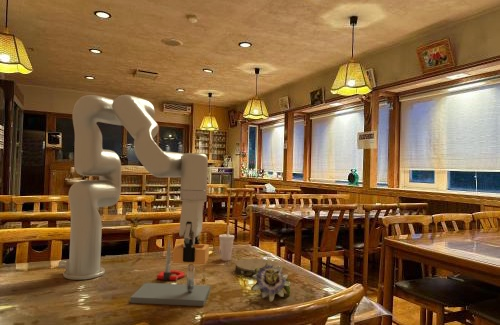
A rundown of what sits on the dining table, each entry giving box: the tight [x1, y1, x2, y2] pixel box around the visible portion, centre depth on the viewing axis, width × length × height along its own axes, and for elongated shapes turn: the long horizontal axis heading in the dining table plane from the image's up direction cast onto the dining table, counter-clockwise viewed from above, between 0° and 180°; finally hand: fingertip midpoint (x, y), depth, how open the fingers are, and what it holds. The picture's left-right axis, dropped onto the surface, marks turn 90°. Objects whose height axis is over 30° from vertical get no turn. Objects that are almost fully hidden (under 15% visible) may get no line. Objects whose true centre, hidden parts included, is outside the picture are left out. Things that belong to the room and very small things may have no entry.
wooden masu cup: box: [172, 242, 210, 265], centre depth 100 cm, size 9×7×4 cm
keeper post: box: [186, 263, 195, 292], centre depth 100 cm, size 2×2×8 cm
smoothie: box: [218, 224, 235, 262], centre depth 143 cm, size 6×6×14 cm
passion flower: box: [250, 261, 292, 303], centre depth 103 cm, size 11×11×12 cm
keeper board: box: [130, 282, 211, 307], centre depth 100 cm, size 20×12×2 cm, turn 88°
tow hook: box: [156, 240, 185, 282], centre depth 119 cm, size 8×13×9 cm
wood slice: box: [235, 258, 280, 279], centre depth 127 cm, size 16×16×3 cm
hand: (191, 258), depth 100 cm, fingers closed on wooden masu cup, 6 cm apart
